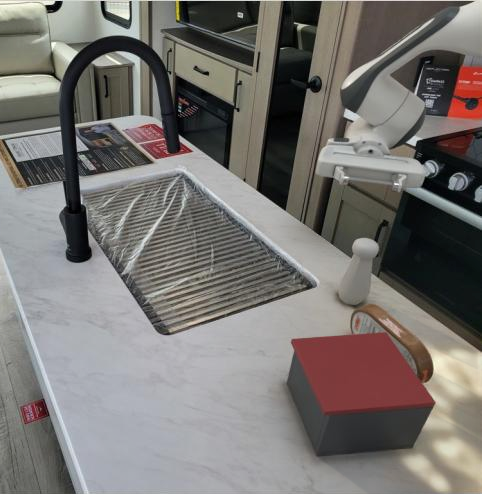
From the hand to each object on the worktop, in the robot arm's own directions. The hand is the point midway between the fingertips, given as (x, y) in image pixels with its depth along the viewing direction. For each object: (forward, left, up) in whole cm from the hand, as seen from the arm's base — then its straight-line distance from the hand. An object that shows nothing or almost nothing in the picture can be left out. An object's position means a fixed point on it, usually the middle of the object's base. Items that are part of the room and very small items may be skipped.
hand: (370, 185), depth 91 cm
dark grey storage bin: (+17, +36, -18) cm, 44 cm away
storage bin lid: (+17, +36, -10) cm, 41 cm away
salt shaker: (+5, +11, -18) cm, 22 cm away
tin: (+7, +27, -18) cm, 34 cm away
